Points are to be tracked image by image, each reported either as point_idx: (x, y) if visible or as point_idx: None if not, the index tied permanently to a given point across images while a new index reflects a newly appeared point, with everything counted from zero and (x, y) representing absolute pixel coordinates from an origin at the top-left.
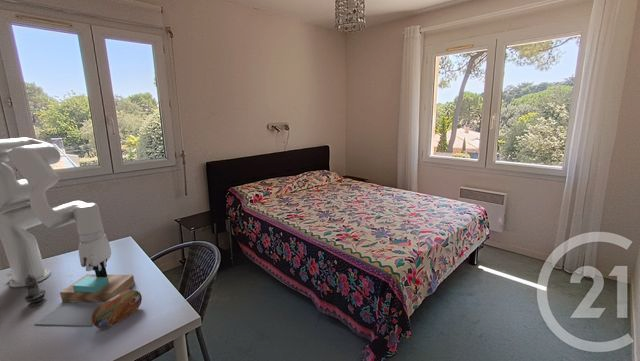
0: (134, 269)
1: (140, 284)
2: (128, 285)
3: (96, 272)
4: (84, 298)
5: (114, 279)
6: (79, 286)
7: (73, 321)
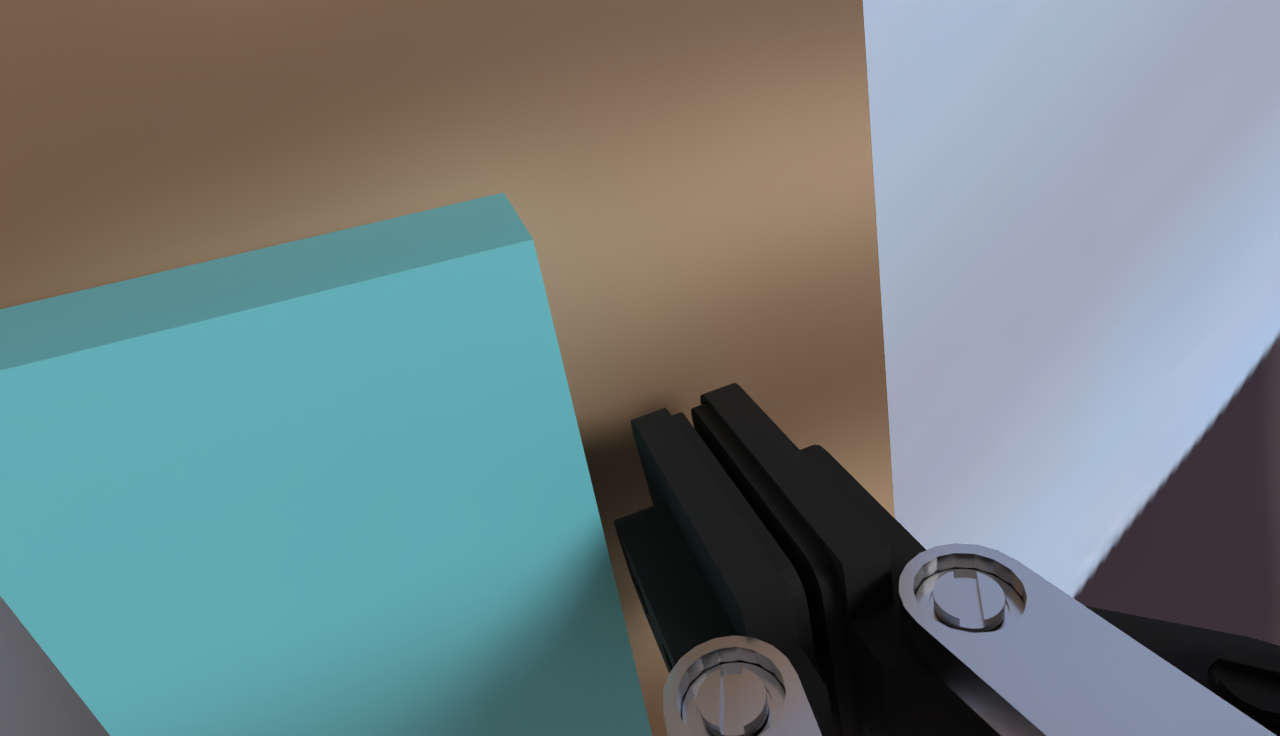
0: (1163, 249)
1: None
2: None
3: (673, 665)
4: None
5: None
6: (44, 618)
7: None
